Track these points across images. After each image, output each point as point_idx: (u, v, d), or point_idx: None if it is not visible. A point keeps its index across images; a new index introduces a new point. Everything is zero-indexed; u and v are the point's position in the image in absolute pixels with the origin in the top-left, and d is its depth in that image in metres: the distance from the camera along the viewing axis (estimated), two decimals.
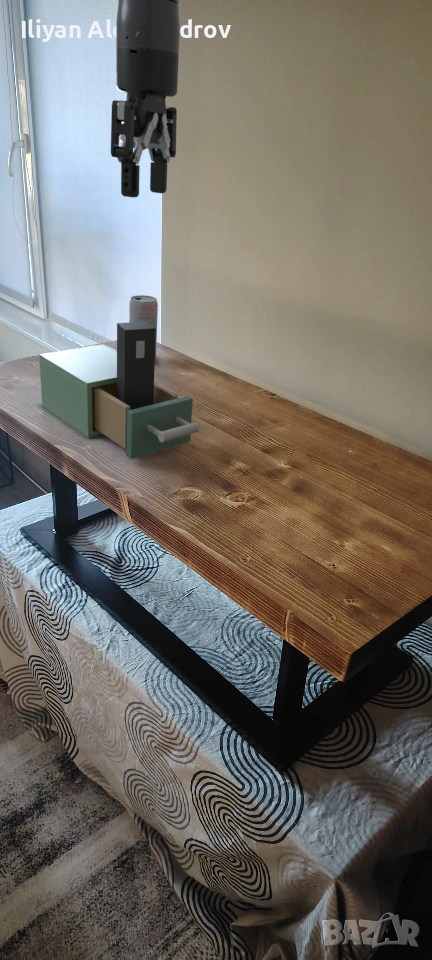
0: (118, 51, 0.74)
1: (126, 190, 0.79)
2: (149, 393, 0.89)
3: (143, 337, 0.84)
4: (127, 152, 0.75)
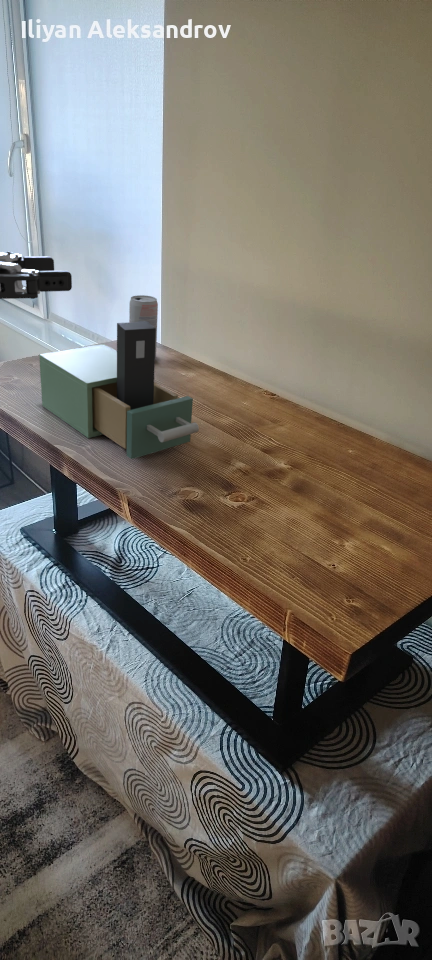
0: None
1: None
2: (149, 393, 0.89)
3: (143, 337, 0.84)
4: None
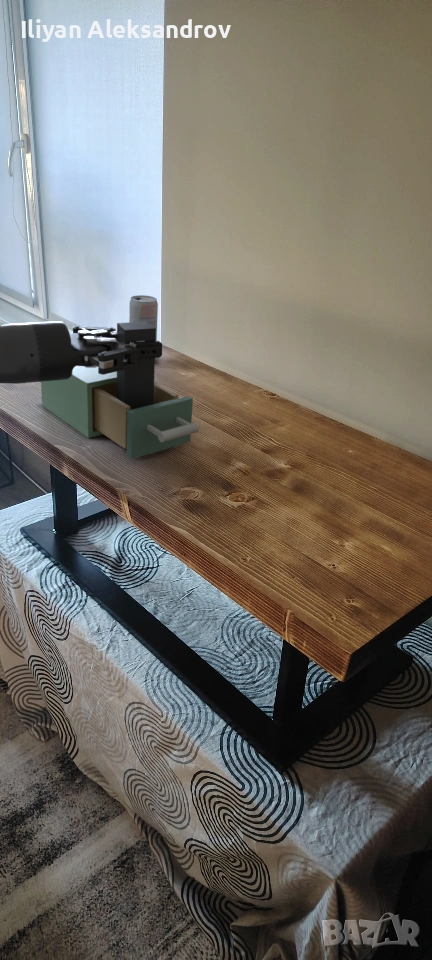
0: None
1: None
2: (149, 393, 0.89)
3: (143, 337, 0.84)
4: None
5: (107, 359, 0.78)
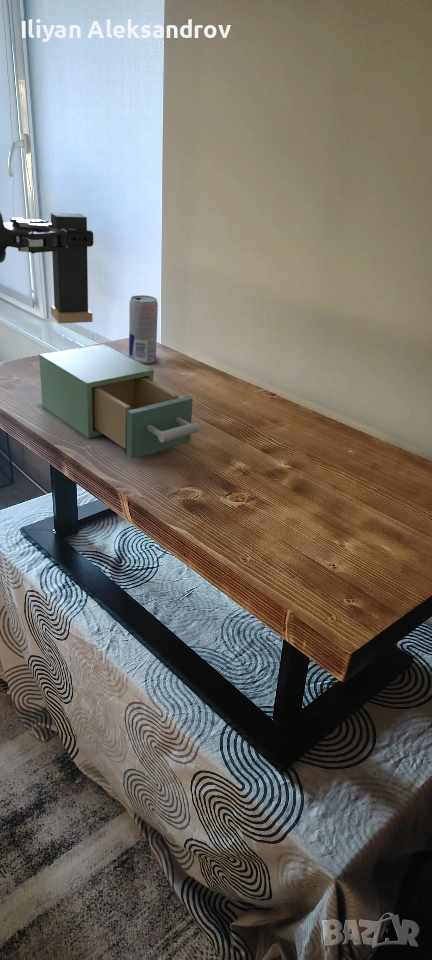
0: None
1: None
2: (83, 283, 0.94)
3: (74, 225, 0.90)
4: None
5: (36, 238, 0.84)
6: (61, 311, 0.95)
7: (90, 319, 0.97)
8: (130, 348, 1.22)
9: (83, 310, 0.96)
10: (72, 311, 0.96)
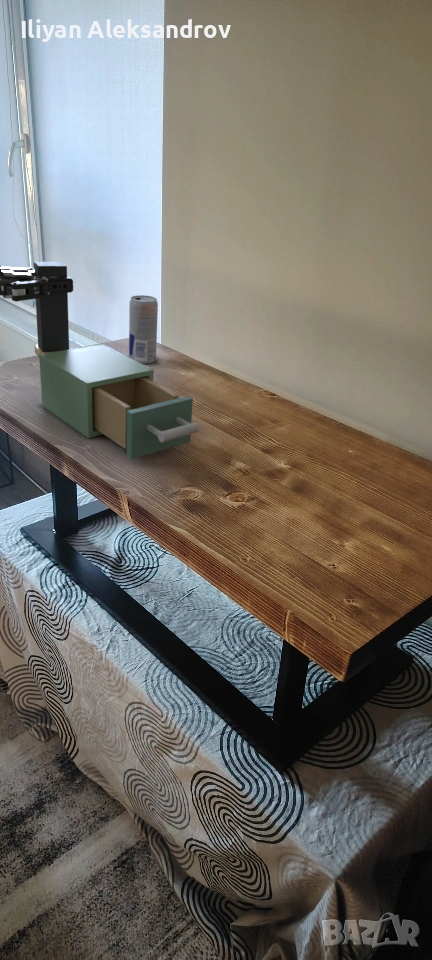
0: None
1: None
2: (64, 325, 1.02)
3: (55, 273, 0.97)
4: None
5: (19, 287, 0.91)
6: (44, 351, 1.02)
7: None
8: (130, 348, 1.22)
9: (64, 349, 1.04)
10: (54, 351, 1.03)
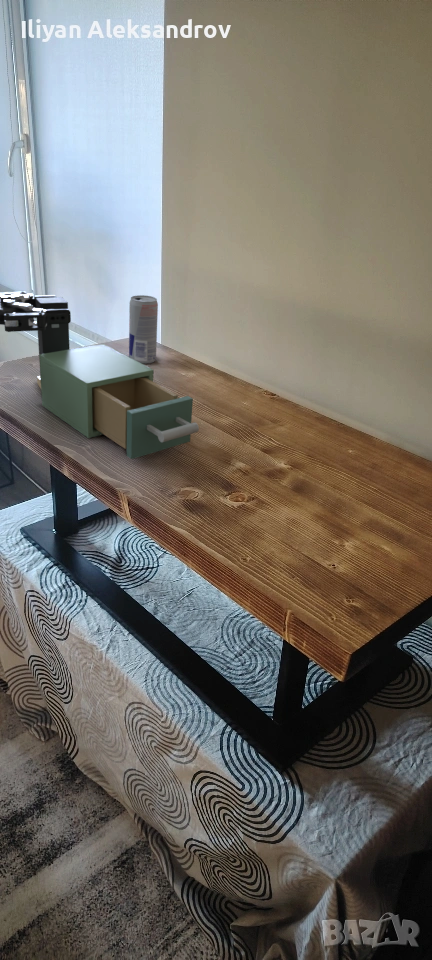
0: None
1: None
2: None
3: None
4: None
5: (10, 319, 0.93)
6: None
7: None
8: (130, 348, 1.22)
9: None
10: None
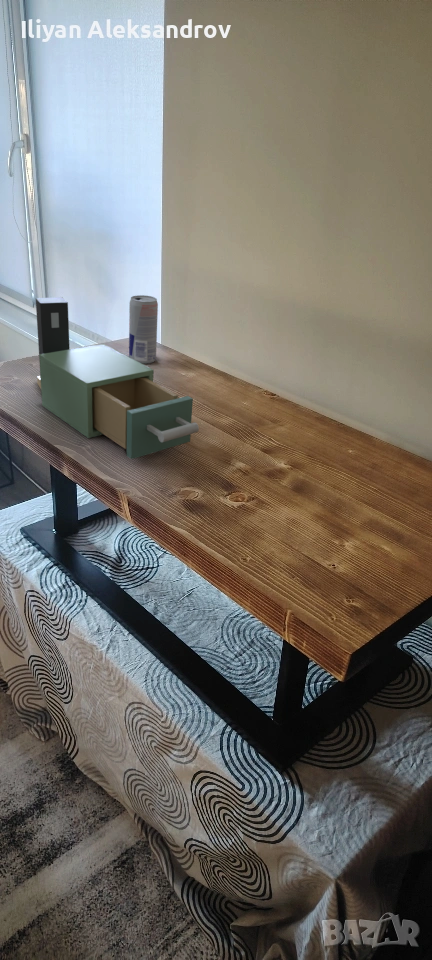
0: None
1: None
2: None
3: (56, 310, 1.00)
4: None
5: None
6: None
7: None
8: (130, 348, 1.22)
9: None
10: None
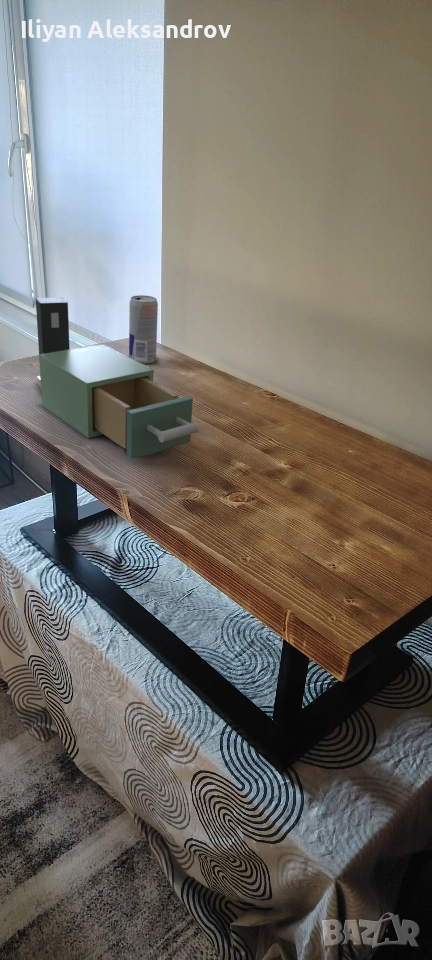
0: None
1: None
2: None
3: (56, 310, 1.00)
4: None
5: None
6: None
7: None
8: (130, 348, 1.22)
9: None
10: None
